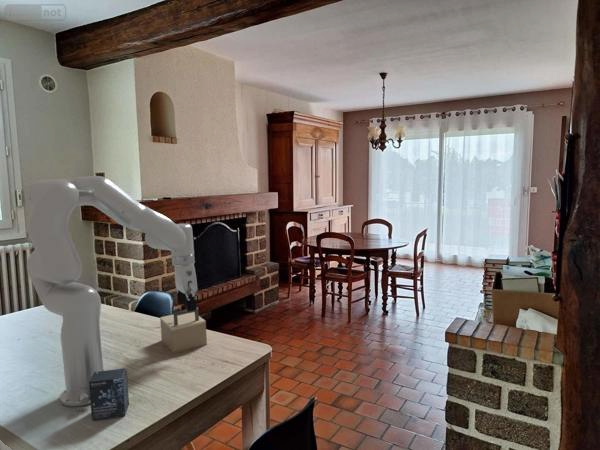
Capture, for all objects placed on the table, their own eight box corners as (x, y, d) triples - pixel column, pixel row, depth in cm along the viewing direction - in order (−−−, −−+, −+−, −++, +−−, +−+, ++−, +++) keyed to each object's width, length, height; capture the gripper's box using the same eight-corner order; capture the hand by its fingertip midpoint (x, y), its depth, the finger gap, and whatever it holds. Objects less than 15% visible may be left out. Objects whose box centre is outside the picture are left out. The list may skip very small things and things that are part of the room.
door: (205, 323, 143) (204, 308, 143) (172, 331, 136) (171, 315, 136) (191, 312, 155) (191, 298, 154) (160, 319, 148) (159, 305, 147)
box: (91, 421, 100) (88, 381, 99) (97, 409, 105) (94, 371, 104) (125, 417, 102) (122, 377, 100) (129, 404, 107) (126, 367, 106)
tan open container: (206, 344, 144) (205, 323, 143) (173, 353, 137) (172, 331, 136) (193, 332, 156) (191, 312, 155) (161, 340, 149) (160, 319, 148)
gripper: (203, 262, 134) (206, 311, 137) (185, 254, 148) (188, 298, 151) (180, 265, 130) (184, 316, 132) (164, 257, 144) (168, 302, 146)
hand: (186, 306), depth 141 cm, fingers open, 9 cm apart
